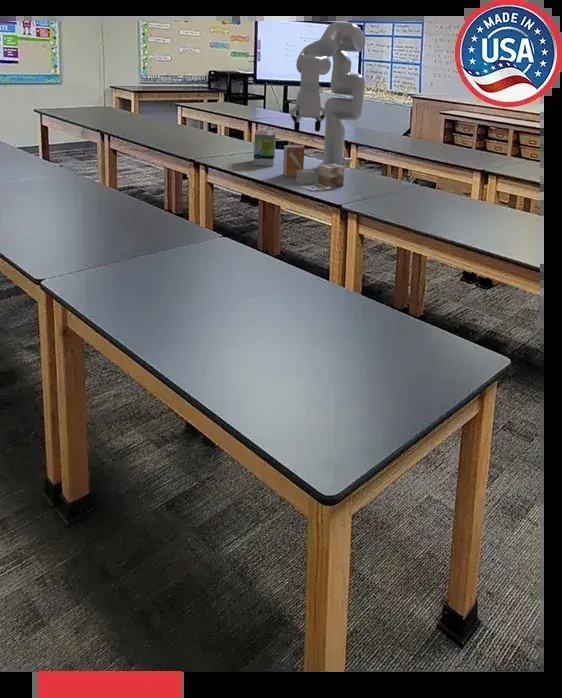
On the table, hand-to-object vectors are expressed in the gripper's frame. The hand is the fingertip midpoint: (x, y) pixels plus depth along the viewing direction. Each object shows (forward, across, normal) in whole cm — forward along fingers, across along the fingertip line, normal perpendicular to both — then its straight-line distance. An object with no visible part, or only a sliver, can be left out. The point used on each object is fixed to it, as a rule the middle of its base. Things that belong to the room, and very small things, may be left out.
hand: (307, 131), depth 287 cm
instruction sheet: (+21, 0, +12) cm, 25 cm away
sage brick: (+21, 0, 0) cm, 21 cm away
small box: (+21, -1, -14) cm, 25 cm away
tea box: (+21, -1, -45) cm, 49 cm away
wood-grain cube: (+21, -8, +8) cm, 24 cm away
